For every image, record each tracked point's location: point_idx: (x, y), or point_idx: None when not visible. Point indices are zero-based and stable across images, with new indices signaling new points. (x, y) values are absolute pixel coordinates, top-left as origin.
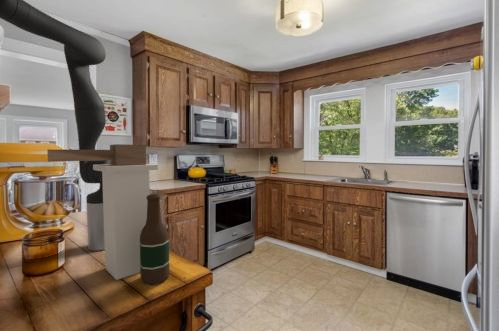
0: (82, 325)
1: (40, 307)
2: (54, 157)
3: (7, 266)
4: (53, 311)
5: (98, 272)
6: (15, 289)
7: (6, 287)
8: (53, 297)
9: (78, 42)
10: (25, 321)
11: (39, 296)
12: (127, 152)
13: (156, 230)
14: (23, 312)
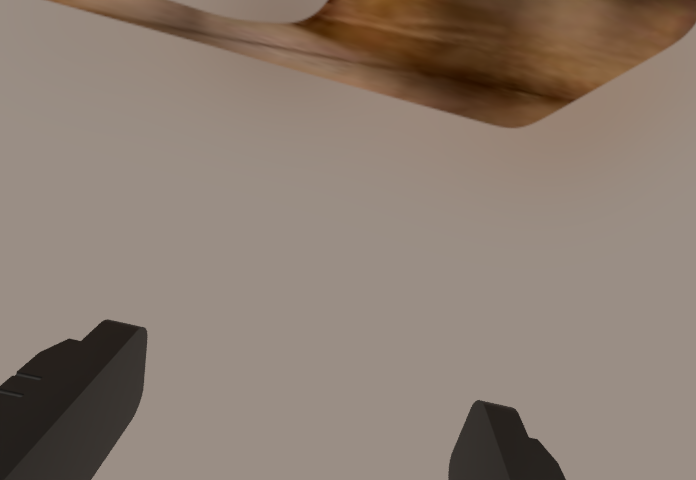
0: (667, 45)
1: (512, 66)
2: None
3: (175, 29)
4: (557, 56)
5: None
6: (366, 67)
7: (334, 76)
8: (494, 29)
9: None
10: (539, 104)
11: (458, 47)
12: None
13: None
14: (499, 94)
